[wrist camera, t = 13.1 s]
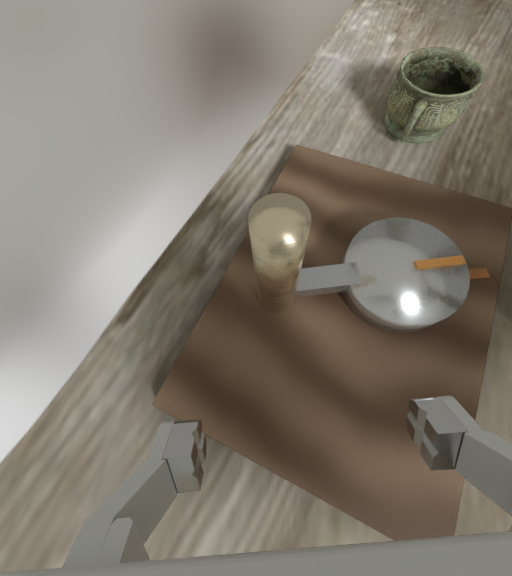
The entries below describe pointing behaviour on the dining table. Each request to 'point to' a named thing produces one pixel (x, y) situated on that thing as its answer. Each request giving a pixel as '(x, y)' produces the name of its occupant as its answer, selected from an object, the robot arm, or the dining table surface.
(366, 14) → the dining table surface
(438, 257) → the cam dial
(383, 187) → the base board
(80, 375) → the dining table surface
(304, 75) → the dining table surface
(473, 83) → the vessel
